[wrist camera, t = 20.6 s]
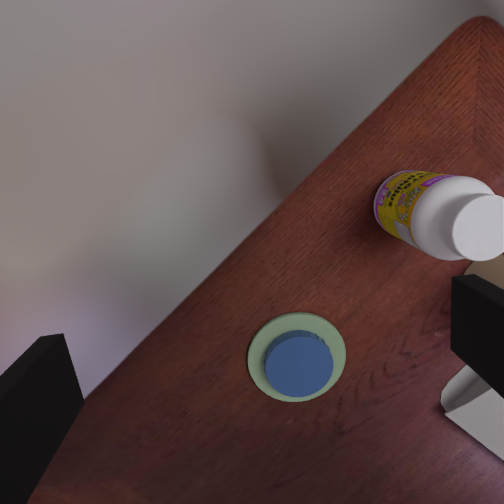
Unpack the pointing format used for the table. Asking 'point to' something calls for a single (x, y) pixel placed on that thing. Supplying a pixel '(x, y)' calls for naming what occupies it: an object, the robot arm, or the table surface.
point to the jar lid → (298, 363)
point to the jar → (489, 270)
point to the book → (475, 409)
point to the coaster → (285, 325)
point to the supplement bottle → (442, 214)
